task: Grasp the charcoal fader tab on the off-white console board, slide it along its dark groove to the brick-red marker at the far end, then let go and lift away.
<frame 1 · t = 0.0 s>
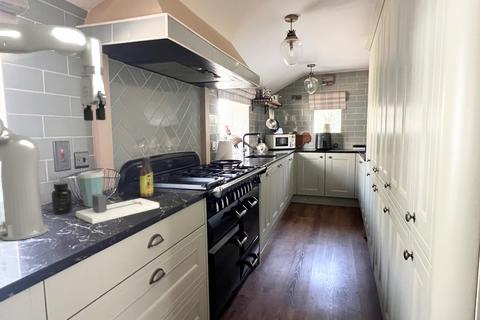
hand: (94, 120, 108), 37 cm above the countertop, tool pointing down, fingers open, 9 cm apart
supplement bottle: (63, 213, 117), on the countertop
fader tab: (99, 202, 111), point 5 cm above the countertop, slide at 0.0 cm
disposable coffee cup: (92, 205, 129), on the countertop
console board: (119, 211, 118), on the countertop
sauce bottle: (147, 196, 146), on the countertop
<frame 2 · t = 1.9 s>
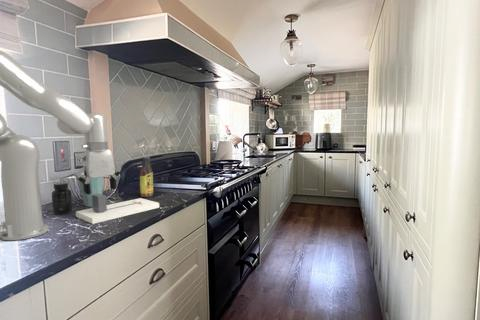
hand: (101, 191, 112), 10 cm above the countertop, tool pointing down, fingers open, 9 cm apart
nothing on the countertop moved.
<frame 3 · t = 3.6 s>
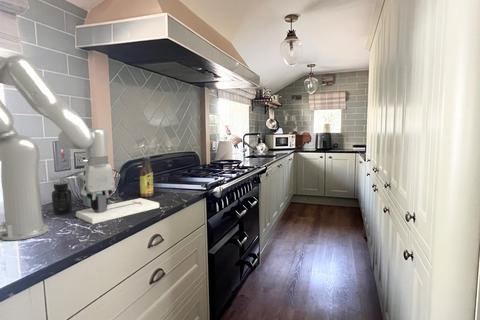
hand: (99, 208, 112), 3 cm above the countertop, tool pointing down, fingers closed on fader tab, 3 cm apart
fader tab: (99, 202, 111), point 5 cm above the countertop, slide at 0.0 cm, touching gripper
everything else where it was.
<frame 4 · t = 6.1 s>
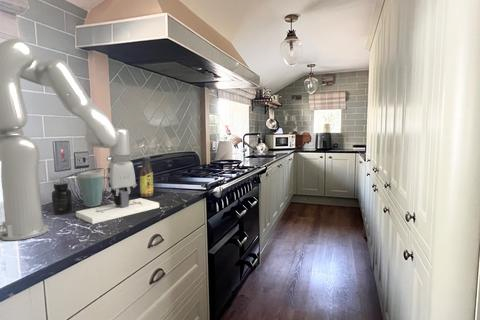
hand: (122, 203, 119), 3 cm above the countertop, tool pointing down, fingers closed on fader tab, 3 cm apart
fader tab: (121, 198, 118), point 5 cm above the countertop, slide at 9.1 cm, touching gripper
everything else where it was.
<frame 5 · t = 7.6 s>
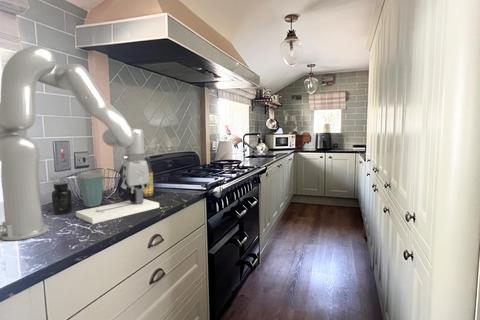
hand: (136, 200, 124), 3 cm above the countertop, tool pointing down, fingers closed on fader tab, 3 cm apart
fader tab: (136, 195, 123), point 5 cm above the countertop, slide at 15.7 cm, touching gripper
everything else where it was.
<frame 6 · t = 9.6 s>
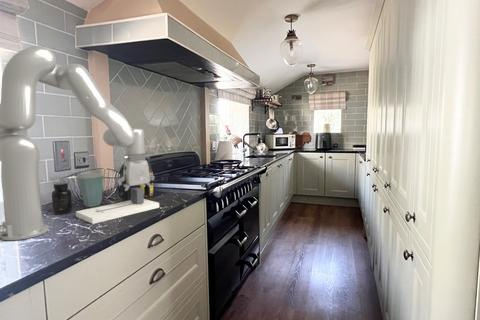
hand: (137, 197, 124), 4 cm above the countertop, tool pointing down, fingers open, 9 cm apart
fader tab: (137, 195, 124), point 5 cm above the countertop, slide at 16.0 cm
everything else where it was.
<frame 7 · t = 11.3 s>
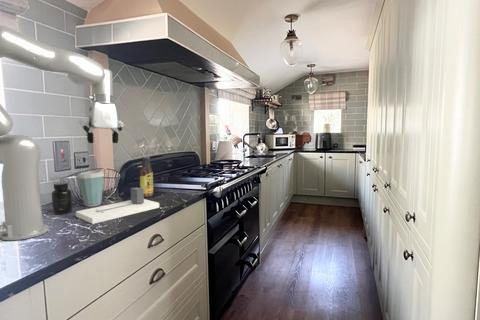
hand: (103, 143, 117), 28 cm above the countertop, tool pointing down, fingers open, 9 cm apart
nothing on the countertop moved.
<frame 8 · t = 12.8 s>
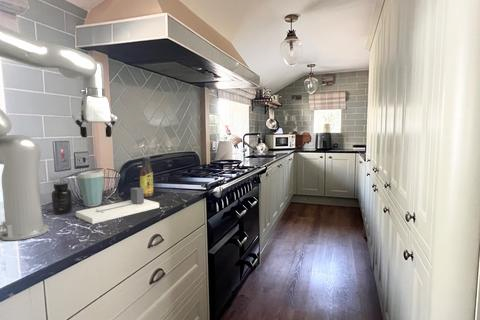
hand: (96, 137, 117), 30 cm above the countertop, tool pointing down, fingers open, 9 cm apart
nothing on the countertop moved.
at the end: fader tab slide at 16.0 cm; the gripper is holding nothing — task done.
